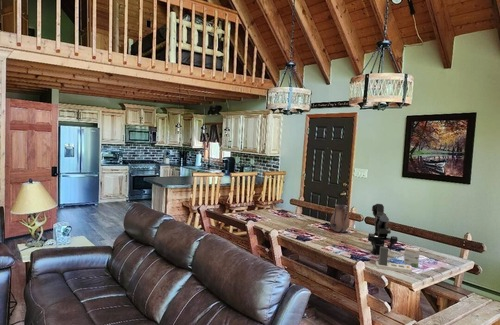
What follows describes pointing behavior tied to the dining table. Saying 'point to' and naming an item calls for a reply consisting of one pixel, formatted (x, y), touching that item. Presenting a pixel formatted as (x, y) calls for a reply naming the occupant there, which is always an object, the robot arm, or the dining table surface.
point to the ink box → (411, 256)
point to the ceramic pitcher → (340, 218)
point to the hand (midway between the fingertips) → (382, 249)
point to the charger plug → (383, 256)
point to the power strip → (394, 267)
